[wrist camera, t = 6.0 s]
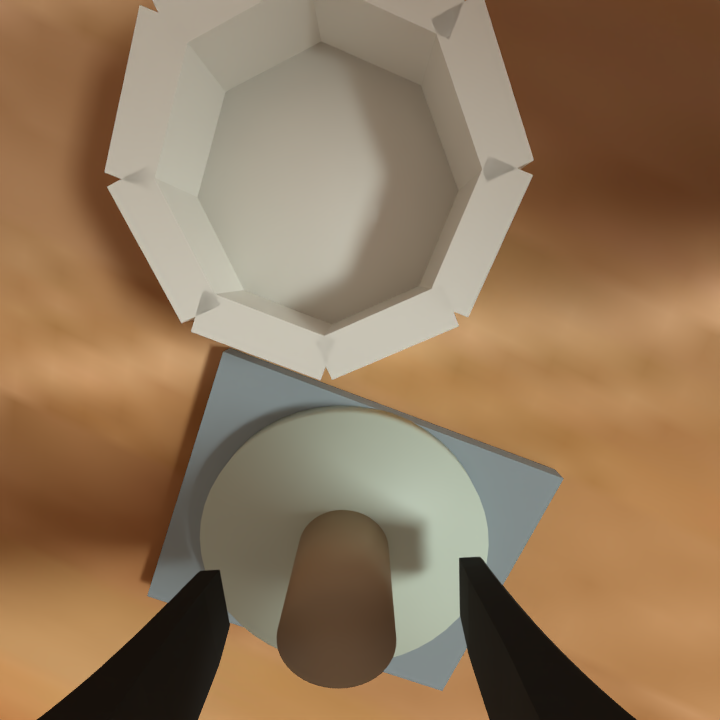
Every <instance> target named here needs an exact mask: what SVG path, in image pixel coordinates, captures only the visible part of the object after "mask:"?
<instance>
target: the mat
mask: <svg viewBox="0 0 720 720" xmlns="http://www.w3.org/2000/svg"><path fill="white" fill-rule="evenodd" d="M336 405H339V406H360V407H367V408H374V409H378V410H383V411H386V412H390V413H393V414H396V415H398V416H401V417H403V418H405V419H408V420H410V421H412V422H414V423H415V424H417V425H418V426H420V427H422V428H424V429H425V430H427V431H428V432H430V433H431V434H432V435H434V436H435V437H436V438H437V439H439V440H440V441H441V442H442V443H443V444H444V445H445V446H446V447H447V448H448V449H449V450H450V451H451V452H452V453H453V454H454V455H455V456H456V458H457V459H458V460H459V462H460V463H461V465H462V466H463V467H464V469H465V471H466V472H467V474H468V476H469V478H470V480H471V482H472V484H473V486H474V488H475V489H476V491H477V493H478V495H479V498H480V501H481V503H482V506H483V509H484V512H485V516H486V521H487V526H488V541H489V547H488V556H487V563H486V564H487V566H488V567H489V568H490V570H491V571H492V572H493V574H494V575H495V576H496V577H497V579H498V580H499V581H500V582H501V584H502V585H503V584H504V582H505V580H506V578H507V577H508V575H509V573H510V571H511V570H512V568H513V566H514V564H515V563H516V561H517V559H518V557H519V556H520V554H521V552H522V550H523V549H524V547H525V545H526V543H527V542H528V540H529V538H530V536H531V535H532V533H533V531H534V529H535V528H536V526H537V524H538V522H539V521H540V519H541V517H542V515H543V514H544V512H545V510H546V508H547V507H548V505H549V503H550V501H551V500H552V498H553V496H554V494H555V493H556V491H557V489H558V487H559V486H560V484H561V482H562V480H563V478H562V477H561V476H560V474H559V473H558V472H557V471H556V470H555V469H552V468H549V467H547V466H544V465H541V464H539V463H536V462H533V461H531V460H528V459H525V458H523V457H520V456H517V455H515V454H512V453H509V452H506V451H504V450H501V449H498V448H496V447H493V446H490V445H488V444H485V443H482V442H480V441H477V440H474V439H472V438H469V437H466V436H464V435H461V434H458V433H456V432H453V431H450V430H448V429H445V428H442V427H440V426H437V425H434V424H432V423H429V422H426V421H424V420H421V419H418V418H416V417H413V416H410V415H408V414H405V413H402V412H400V411H397V410H394V409H392V408H389V407H386V406H384V405H381V404H378V403H376V402H373V401H370V400H368V399H365V398H362V397H360V396H357V395H354V394H352V393H349V392H346V391H344V390H341V389H338V388H336V387H333V386H330V385H328V384H325V383H322V382H320V381H317V380H314V379H312V378H309V377H306V376H304V375H301V374H298V373H296V372H293V371H290V370H288V369H285V368H282V367H279V366H277V365H274V364H271V363H269V362H266V361H263V360H261V359H258V358H255V357H253V356H250V355H247V354H245V353H242V352H239V351H237V350H234V349H231V348H229V349H227V350H225V351H224V352H223V354H222V357H221V361H220V364H219V367H218V370H217V373H216V377H215V380H214V383H213V386H212V390H211V393H210V396H209V399H208V402H207V406H206V409H205V412H204V415H203V419H202V422H201V425H200V428H199V431H198V435H197V438H196V441H195V444H194V447H193V451H192V454H191V457H190V460H189V464H188V467H187V470H186V473H185V476H184V480H183V483H182V486H181V489H180V493H179V496H178V499H177V502H176V505H175V509H174V512H173V515H172V518H171V521H170V525H169V528H168V531H167V534H166V538H165V541H164V544H163V547H162V550H161V554H160V557H159V560H158V563H157V567H156V570H155V573H154V576H153V579H152V583H151V586H150V589H149V592H148V595H147V596H149V597H152V598H155V599H158V600H161V601H164V602H167V603H168V602H169V601H170V600H171V599H172V598H173V597H174V596H175V595H176V594H177V593H178V592H179V591H180V590H181V589H182V588H183V587H184V586H185V585H186V584H187V583H188V582H189V581H190V580H191V579H192V578H193V577H194V576H195V575H196V574H197V573H198V572H199V571H203V570H205V568H204V564H203V560H202V555H201V546H200V526H201V518H202V514H203V509H204V505H205V502H206V500H207V497H208V494H209V492H210V489H211V488H212V486H213V484H214V482H215V481H216V479H217V477H218V475H219V474H220V472H221V471H222V470H223V468H224V467H225V466H226V464H227V463H228V462H229V460H230V459H231V458H232V456H233V455H234V454H235V453H236V451H237V450H238V449H239V448H240V447H241V446H242V445H243V444H244V443H245V442H246V441H247V440H248V439H249V438H250V437H252V436H253V435H255V434H256V433H257V432H259V431H260V430H261V429H263V428H264V427H266V426H268V425H270V424H271V423H273V422H275V421H277V420H279V419H281V418H283V417H286V416H289V415H291V414H294V413H297V412H300V411H304V410H308V409H313V408H317V407H326V406H336ZM227 612H228V611H227ZM228 617H229V622H230V623H233V624H236V625H239V626H242V625H241V624H240V623H239V622H238V621H237V620H236V619H235V618H234V617H233V616H232V615H231V614H230V613H229V612H228ZM242 627H243V626H242ZM466 648H467V645H466V641H465V636H464V632H463V627H462V622H461V618H460V616H459V618H458V619H457V620H456V621H455V622H454V623H453V624H451V625H450V626H449V627H448V628H447V629H446V630H445V631H444V632H442V633H441V634H440V635H438V636H437V637H435V638H434V639H433V640H431V641H429V642H428V643H426V644H424V645H422V646H421V647H419V648H417V649H415V650H412V651H410V652H407V653H405V654H403V655H400V656H396V657H393V659H392V660H391V662H390V664H389V665H388V666H387V668H386V669H385V670H384V671H383V672H385V673H388V674H391V675H395V676H398V677H401V678H404V679H407V680H410V681H413V682H416V683H419V684H422V685H426V686H429V687H432V688H435V689H438V690H441V691H442V690H443V689H444V687H445V685H446V683H447V682H448V680H449V678H450V676H451V675H452V673H453V671H454V669H455V668H456V666H457V664H458V662H459V661H460V659H461V657H462V655H463V654H464V652H465V650H466Z"/></svg>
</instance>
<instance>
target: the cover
mask: <svg viewBox="0 0 720 720" xmlns="http://www.w3.org/2000/svg"><path fill="white" fill-rule="evenodd" d="M200 546H201V555H202V560H203V564H204V568H205V570H220V574H221V579H222V585H223V590H224V596H225V601H226V606H227V611H228V612H229V613H230V614H231V615H232V616H233V617H234V618H235V619H236V620H237V621H238V622H239V623H240V624H241V625H242V626H243V627H244V628H246V629H247V630H248V631H249V632H251V633H252V634H253V635H255V636H256V637H258V638H259V639H261V640H262V641H264V642H266V643H267V644H269V645H271V646H273V647H275V648H277V649H278V651H279V653H280V656H281V658H282V660H283V661H284V663H285V664H286V665H287V667H288V668H289V669H290V670H291V671H292V672H293V673H295V674H296V675H297V676H299V677H300V678H302V679H303V680H305V681H307V682H309V683H312V684H315V685H318V686H322V687H327V688H349V687H355V686H358V685H362V684H364V683H367V682H369V681H371V680H372V679H374V678H376V677H377V676H378V675H380V674H381V673H382V672H383V671H384V670H385V669H386V668H387V666H388V665H389V664H390V662H391V660H392V659H393V657H396V656H400V655H403V654H405V653H407V652H410V651H412V650H415V649H417V648H419V647H421V646H422V645H424V644H426V643H428V642H429V641H431V640H433V639H434V638H435V637H437V636H438V635H440V634H441V633H442V632H444V631H445V630H446V629H447V628H448V627H449V626H450V625H451V624H453V623H454V622H455V621H456V620H457V619H458V618H459V616H460V596H459V558H463V557H481V558H482V559H483V560H484V562H485V563H487V556H488V547H489V541H488V526H487V521H486V516H485V512H484V509H483V506H482V503H481V501H480V498H479V495H478V493H477V491H476V489H475V488H474V486H473V484H472V482H471V480H470V478H469V476H468V474H467V472H466V471H465V469H464V467H463V466H462V465H461V463H460V462H459V460H458V459H457V458H456V456H455V455H454V454H453V453H452V452H451V451H450V450H449V449H448V448H447V447H446V446H445V445H444V444H443V443H442V442H441V441H440V440H439V439H437V438H436V437H435V436H434V435H432V434H431V433H430V432H428V431H427V430H425V429H424V428H422V427H420V426H418V425H417V424H415V423H414V422H412V421H410V420H408V419H405V418H403V417H401V416H398V415H396V414H393V413H390V412H386V411H383V410H378V409H374V408H367V407H360V406H339V405H336V406H326V407H317V408H313V409H308V410H304V411H300V412H297V413H294V414H291V415H289V416H286V417H283V418H281V419H279V420H277V421H275V422H273V423H271V424H270V425H268V426H266V427H264V428H263V429H261V430H260V431H259V432H257V433H256V434H255V435H253V436H252V437H250V438H249V439H248V440H247V441H246V442H245V443H244V444H243V445H242V446H241V447H240V448H239V449H238V450H237V451H236V453H235V454H234V455H233V456H232V458H231V459H230V460H229V462H228V463H227V464H226V466H225V467H224V468H223V470H222V471H221V472H220V474H219V475H218V477H217V479H216V481H215V482H214V484H213V486H212V488H211V489H210V492H209V494H208V497H207V500H206V502H205V505H204V509H203V514H202V518H201V526H200Z"/></svg>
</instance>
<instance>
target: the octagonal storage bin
mask: <svg viewBox="0 0 720 720" xmlns="http://www.w3.org/2000/svg"><path fill="white" fill-rule="evenodd" d="M153 2H154V5H155V7H156V9H157V11H158V12H155V11H153V10H151V9H148V8H146V7H144V6H141V5H140V6H139V11H138V16H137V20H136V25H135V30H134V35H133V39H132V44H131V49H130V53H129V58H128V63H127V68H126V72H125V77H124V82H123V87H122V91H121V96H120V101H119V105H118V110H117V115H116V120H115V124H114V129H113V134H112V139H111V143H110V148H109V153H108V157H107V162H106V167H105V173H107V174H110V175H112V176H115V177H117V178H120V179H121V180H119V181H117V182H115V183H113V184H111V185H109V186H107V188H108V190H109V192H110V193H111V195H112V197H113V199H114V201H115V203H116V204H117V206H118V208H119V210H120V212H121V213H122V215H123V217H124V219H125V221H126V223H127V224H128V226H129V228H130V230H131V232H132V234H133V235H134V237H135V239H136V241H137V243H138V245H139V246H140V248H141V250H142V252H143V254H144V256H145V257H146V259H147V261H148V263H149V265H150V267H151V268H152V270H153V272H154V274H155V276H156V278H157V279H158V281H159V283H160V285H161V287H162V288H163V290H164V292H165V294H166V296H167V298H168V299H169V301H170V303H171V305H172V307H173V309H174V310H175V312H176V314H177V316H178V318H179V320H180V321H181V323H184V322H187V321H191V320H194V323H193V327H192V330H191V332H193V333H196V334H199V335H201V336H204V337H207V338H209V339H212V340H215V341H217V342H220V343H223V344H225V345H228V346H231V347H233V348H236V349H239V350H241V351H244V352H247V353H249V354H252V355H255V356H257V357H260V358H263V359H265V360H268V361H271V362H273V363H276V364H279V365H281V366H284V367H287V368H289V369H292V370H295V371H297V372H300V373H303V374H305V375H308V376H311V377H313V378H316V379H319V380H321V377H322V375H323V373H324V370H325V368H327V370H328V372H329V374H330V376H331V378H332V380H333V379H335V378H338V377H340V376H342V375H345V374H347V373H349V372H352V371H354V370H357V369H359V368H361V367H364V366H366V365H368V364H371V363H373V362H375V361H378V360H380V359H383V358H385V357H387V356H390V355H392V354H394V353H397V352H399V351H401V350H404V349H406V348H409V347H411V346H413V345H416V344H418V343H420V342H423V341H425V340H427V339H430V338H432V337H434V336H437V335H439V334H442V333H444V332H446V331H449V330H451V329H453V328H456V327H458V326H459V325H458V322H457V320H456V317H455V315H454V312H456V313H459V314H461V315H464V316H466V317H469V314H470V312H471V310H472V308H473V306H474V304H475V301H476V299H477V297H478V295H479V293H480V290H481V288H482V286H483V284H484V282H485V279H486V277H487V275H488V273H489V271H490V268H491V266H492V264H493V262H494V260H495V257H496V255H497V253H498V251H499V249H500V246H501V244H502V242H503V240H504V238H505V235H506V233H507V231H508V229H509V227H510V225H511V222H512V220H513V218H514V216H515V214H516V211H517V209H518V207H519V205H520V203H521V200H522V198H523V196H524V194H525V192H526V189H527V187H528V185H529V183H530V181H531V178H532V176H533V175H532V174H529V173H527V172H525V171H522V170H520V169H522V168H523V167H525V166H526V165H528V164H529V163H531V162H532V161H534V159H533V156H532V152H531V149H530V146H529V143H528V139H527V136H526V133H525V130H524V126H523V123H522V120H521V117H520V114H519V110H518V107H517V104H516V101H515V97H514V94H513V91H512V88H511V84H510V81H509V78H508V75H507V72H506V68H505V65H504V62H503V59H502V55H501V52H500V49H499V46H498V42H497V39H496V36H495V33H494V30H493V26H492V23H491V20H490V17H489V13H488V10H487V7H486V4H485V0H466V1H465V0H153ZM453 311H454V312H453Z"/></svg>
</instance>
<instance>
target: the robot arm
mask: <svg viewBox="0 0 720 720" xmlns="http://www.w3.org/2000/svg"><path fill="white" fill-rule="evenodd" d="M459 596H460V618H461V622H462V627H463V632H464V636H465V641H466V645H467V649H468V654H469V657H470V660H471V663H472V667H473V670H474V673H475V676H476V679H477V682H478V685H479V688H480V691H481V695H482V698H483V701H484V704H485V707H486V710H487V713H488V716H489V719H490V720H636V719H635V718H634V717H633V716H631V715H630V714H629V713H628V712H627V711H625V710H624V709H623V708H622V707H621V706H619V705H618V704H617V703H616V702H615V701H614V700H613V699H612V698H610V697H609V696H608V695H607V694H606V693H605V692H604V691H602V690H601V689H600V688H599V687H598V686H597V685H596V684H595V683H594V682H593V681H592V680H590V679H589V678H588V677H587V676H586V675H585V674H584V673H583V672H582V671H581V670H580V669H579V668H578V667H577V666H576V665H575V664H574V663H573V662H572V661H571V660H570V659H569V658H568V657H567V656H566V655H565V654H564V653H563V652H562V651H561V650H560V649H559V648H558V647H557V646H556V645H555V644H554V643H553V642H552V641H551V640H550V639H549V638H548V637H547V636H546V635H545V634H544V633H543V631H542V630H541V629H540V628H539V627H538V626H537V625H536V624H535V623H534V622H533V620H532V619H531V618H530V617H529V616H528V615H527V614H526V612H525V611H524V610H523V609H522V608H521V607H520V606H519V604H518V603H517V602H516V601H515V600H514V598H513V597H512V596H511V595H510V594H509V592H508V591H507V590H506V589H505V587H504V586H503V585H502V584H501V582H500V581H499V580H498V579H497V577H496V576H495V575H494V574H493V572H492V571H491V570H490V568H489V567H488V566H487V564H486V563H485V562H484V560H483V559H482V558H481V557H463V558H459ZM229 626H230V623H229V617H228V612H227V606H226V601H225V596H224V590H223V585H222V579H221V574H220V570H203V571H199V572H198V573H197V574H196V575H195V576H194V577H193V578H192V579H191V580H190V581H189V582H188V583H187V584H186V585H185V586H184V587H183V588H182V589H181V590H180V591H179V592H178V593H177V594H176V595H175V596H174V597H173V598H172V599H171V600H170V601H169V602H168V603H167V604H166V605H165V606H164V607H163V608H162V609H161V610H160V611H159V612H158V613H157V614H156V615H155V616H154V617H153V618H152V619H151V620H150V621H149V622H148V623H147V624H146V625H145V626H144V627H143V628H142V629H141V630H140V631H139V632H138V633H137V634H136V635H135V636H134V637H133V638H132V639H131V640H130V641H129V642H127V643H126V644H125V645H124V646H123V647H122V648H121V649H120V650H119V651H118V652H117V653H116V654H114V655H113V656H112V657H111V658H110V659H109V660H108V661H107V662H106V663H105V664H104V665H103V666H102V667H100V668H99V669H98V670H97V671H96V672H95V673H94V674H92V675H91V676H90V677H89V678H88V679H87V680H85V681H84V682H83V683H82V684H81V685H80V686H78V687H77V688H76V689H75V690H74V691H72V692H71V693H70V694H69V695H67V696H66V697H65V698H64V699H63V700H61V701H60V702H59V703H58V704H56V705H55V706H54V707H53V708H51V709H50V710H49V711H48V712H46V713H45V714H44V715H42V716H41V717H40V718H38V719H37V720H198V718H199V715H200V713H201V710H202V708H203V705H204V703H205V700H206V698H207V695H208V692H209V690H210V687H211V685H212V682H213V679H214V677H215V674H216V671H217V669H218V666H219V663H220V659H221V656H222V652H223V649H224V645H225V642H226V638H227V634H228V630H229Z"/></svg>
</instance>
